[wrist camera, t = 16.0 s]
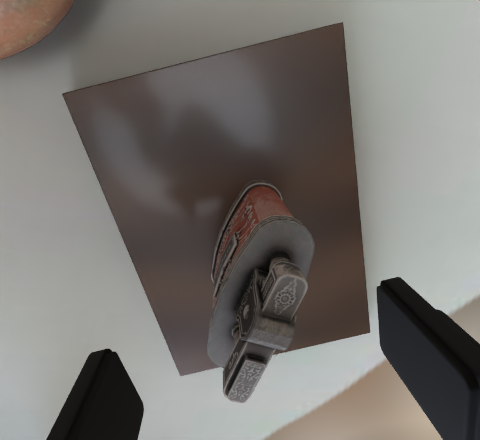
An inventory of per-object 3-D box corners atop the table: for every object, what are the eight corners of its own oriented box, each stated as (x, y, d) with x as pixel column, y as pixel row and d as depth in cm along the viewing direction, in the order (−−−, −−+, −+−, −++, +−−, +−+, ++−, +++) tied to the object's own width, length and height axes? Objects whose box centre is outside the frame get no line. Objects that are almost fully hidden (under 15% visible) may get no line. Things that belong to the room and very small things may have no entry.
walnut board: (71, 94, 17) (61, 93, 16) (335, 27, 17) (343, 21, 16) (182, 364, 25) (180, 376, 24) (363, 322, 25) (370, 332, 23)
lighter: (242, 171, 18) (266, 235, 9) (291, 190, 19) (360, 266, 9) (201, 277, 21) (186, 413, 11) (245, 289, 21) (265, 428, 12)
